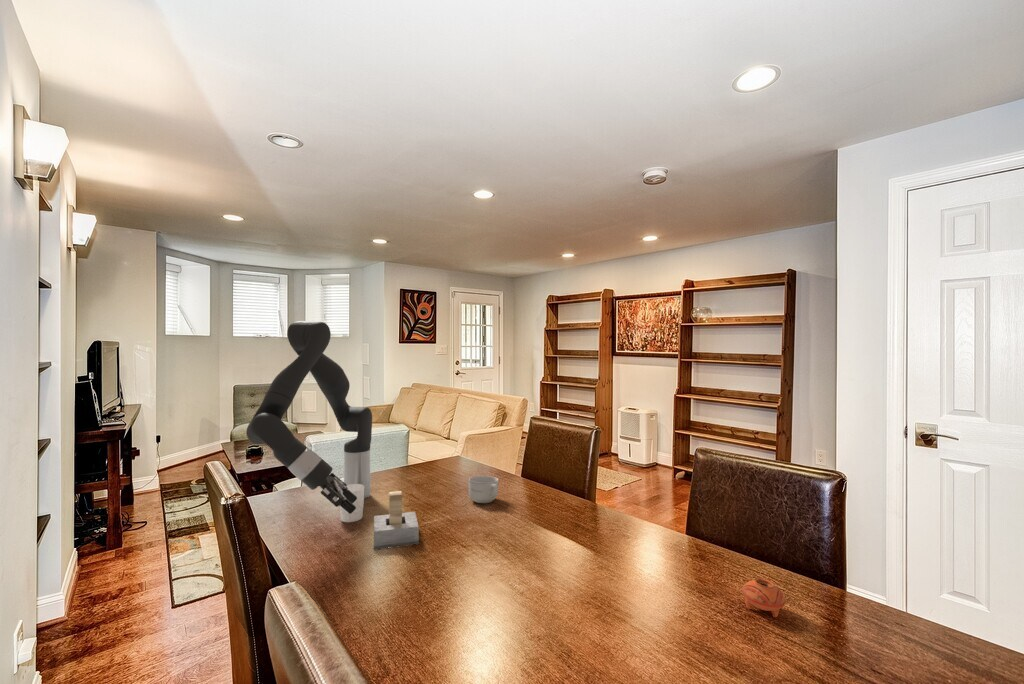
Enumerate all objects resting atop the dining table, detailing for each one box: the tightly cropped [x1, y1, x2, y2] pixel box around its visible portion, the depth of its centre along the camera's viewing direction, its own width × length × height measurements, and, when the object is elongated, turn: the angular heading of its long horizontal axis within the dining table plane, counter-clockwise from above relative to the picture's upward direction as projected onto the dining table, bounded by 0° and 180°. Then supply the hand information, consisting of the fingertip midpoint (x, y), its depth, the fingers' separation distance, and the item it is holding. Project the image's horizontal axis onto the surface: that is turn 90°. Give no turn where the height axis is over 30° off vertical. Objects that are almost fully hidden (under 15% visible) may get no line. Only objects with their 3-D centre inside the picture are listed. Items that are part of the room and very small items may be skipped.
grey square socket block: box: [373, 511, 420, 550], centre depth 131 cm, size 12×12×5 cm
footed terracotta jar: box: [741, 577, 787, 618], centre depth 95 cm, size 8×8×7 cm
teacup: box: [468, 475, 499, 504], centre depth 162 cm, size 14×11×8 cm
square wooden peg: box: [388, 490, 403, 525], centre depth 131 cm, size 3×3×12 cm
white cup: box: [339, 484, 365, 523], centre depth 147 cm, size 8×8×10 cm
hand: (354, 505), depth 128 cm, fingers open, 8 cm apart
